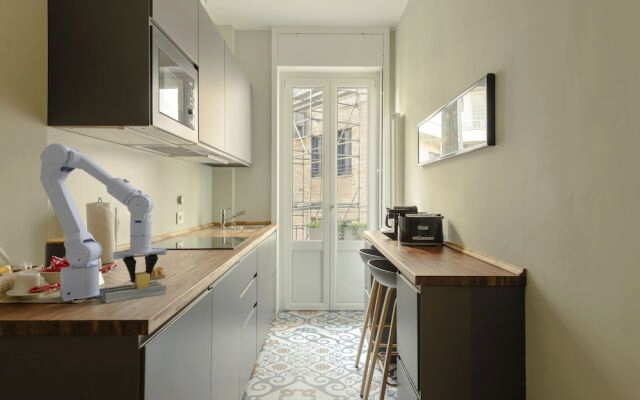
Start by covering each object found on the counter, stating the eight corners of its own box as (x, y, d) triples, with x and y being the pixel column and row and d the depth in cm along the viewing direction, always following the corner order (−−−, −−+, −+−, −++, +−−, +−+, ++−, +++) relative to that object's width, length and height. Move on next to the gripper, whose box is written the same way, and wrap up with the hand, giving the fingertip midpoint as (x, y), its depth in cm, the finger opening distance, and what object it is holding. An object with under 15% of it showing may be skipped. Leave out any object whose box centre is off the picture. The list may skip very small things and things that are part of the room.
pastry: (142, 283, 128) (142, 271, 128) (131, 280, 132) (131, 269, 132) (167, 278, 136) (167, 267, 136) (157, 276, 140) (157, 265, 140)
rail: (105, 303, 103) (105, 294, 103) (99, 297, 109) (99, 288, 109) (165, 293, 113) (166, 285, 113) (156, 288, 120) (156, 280, 120)
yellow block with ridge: (137, 293, 109) (137, 275, 109) (131, 289, 113) (131, 273, 113) (150, 291, 111) (150, 274, 111) (144, 287, 115) (144, 271, 115)
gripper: (117, 238, 105) (116, 287, 105) (170, 235, 114) (170, 280, 114) (111, 236, 110) (110, 282, 110) (162, 233, 119) (161, 276, 120)
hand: (140, 281), depth 112 cm, fingers closed on yellow block with ridge, 3 cm apart
